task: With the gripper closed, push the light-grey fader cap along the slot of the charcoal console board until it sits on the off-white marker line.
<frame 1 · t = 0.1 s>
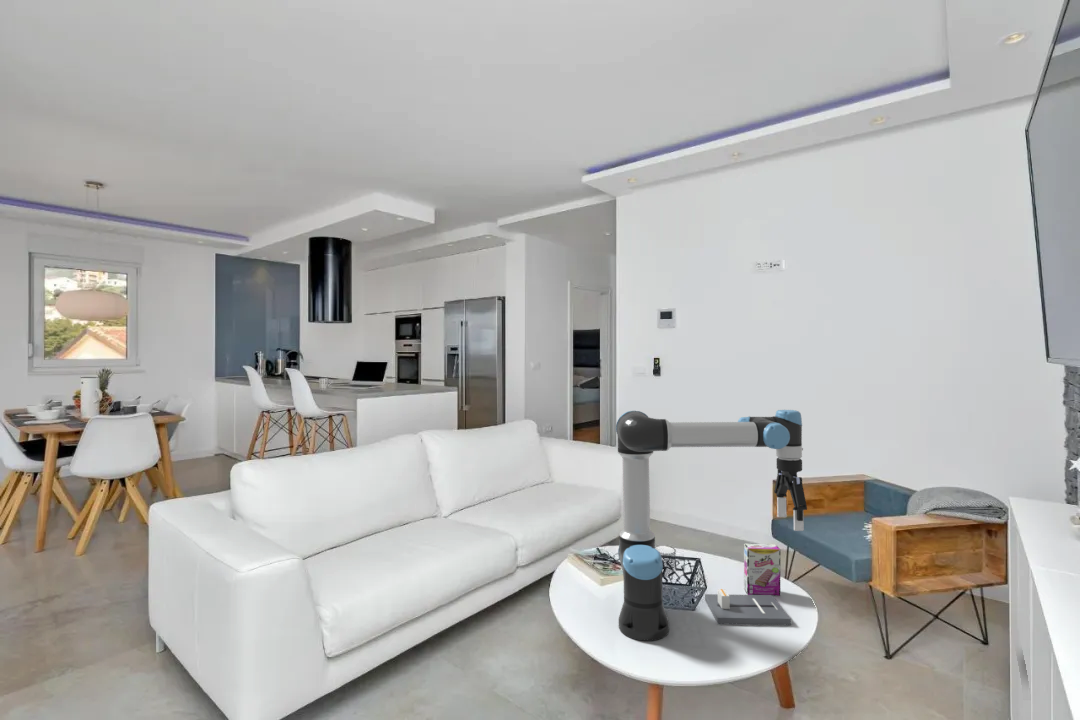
hand: (790, 523, 172), 28 cm above the table, fingers open, 13 cm apart
candy bar box: (762, 593, 184), on the table
console: (745, 612, 171), on the table
fader cap: (723, 598, 171), point 4 cm above the table, slide at 0.0 cm
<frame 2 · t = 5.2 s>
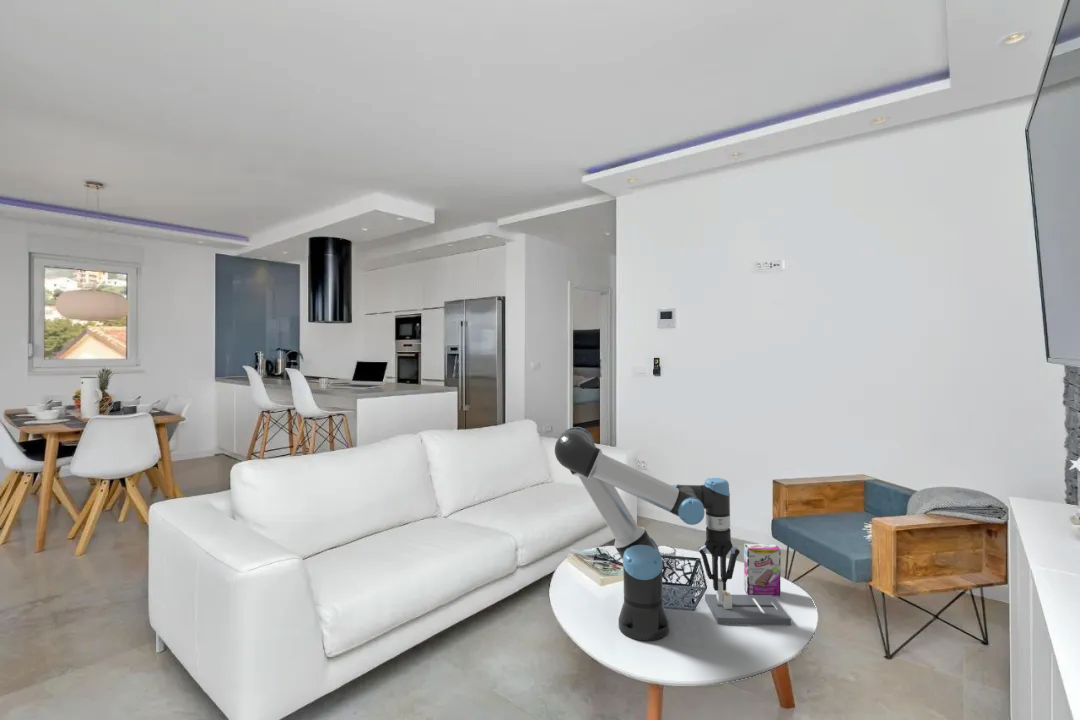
hand: (719, 599, 171), 4 cm above the table, fingers closed
fader cap: (726, 598, 171), point 4 cm above the table, slide at 0.8 cm, touching gripper
everything else where it was.
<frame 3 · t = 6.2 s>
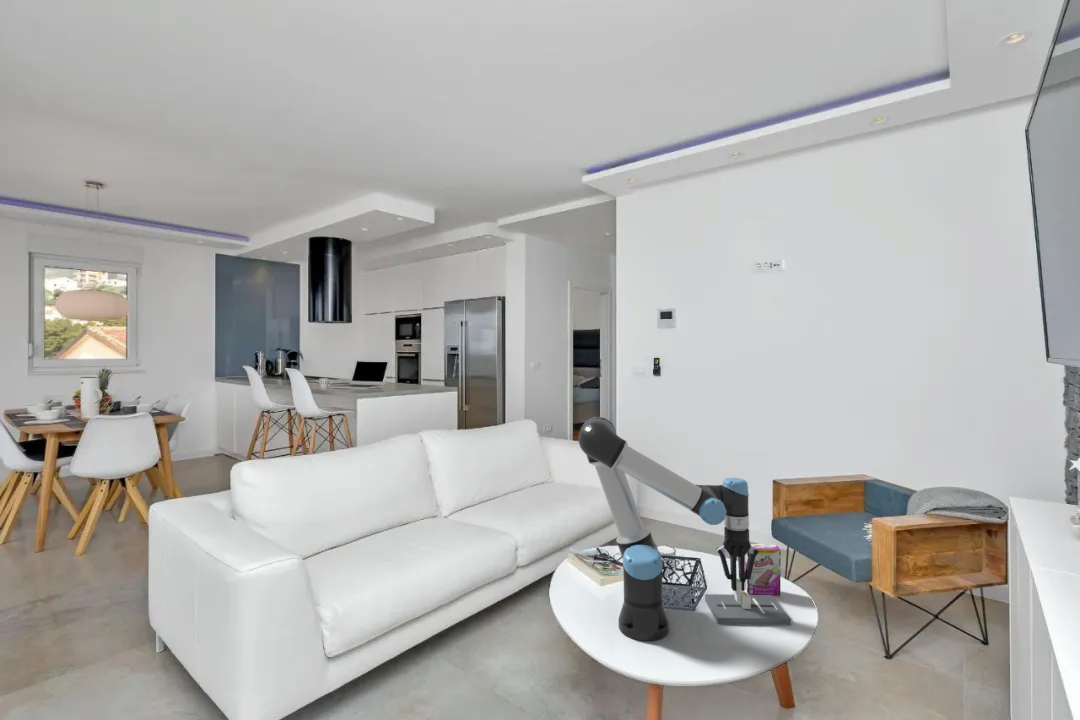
hand: (738, 600, 171), 4 cm above the table, fingers closed
fader cap: (744, 598, 171), point 4 cm above the table, slide at 6.6 cm, touching gripper
everything else where it was.
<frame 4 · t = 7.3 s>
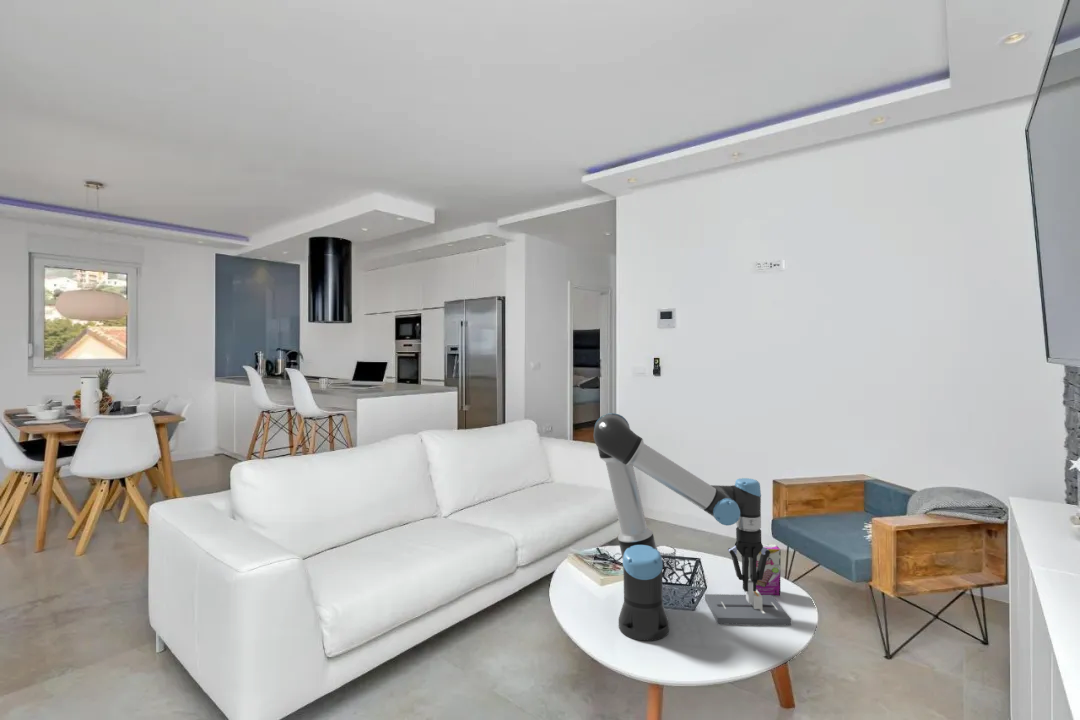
hand: (749, 600, 171), 4 cm above the table, fingers closed
fader cap: (755, 598, 170), point 4 cm above the table, slide at 10.2 cm, touching gripper
everything else where it was.
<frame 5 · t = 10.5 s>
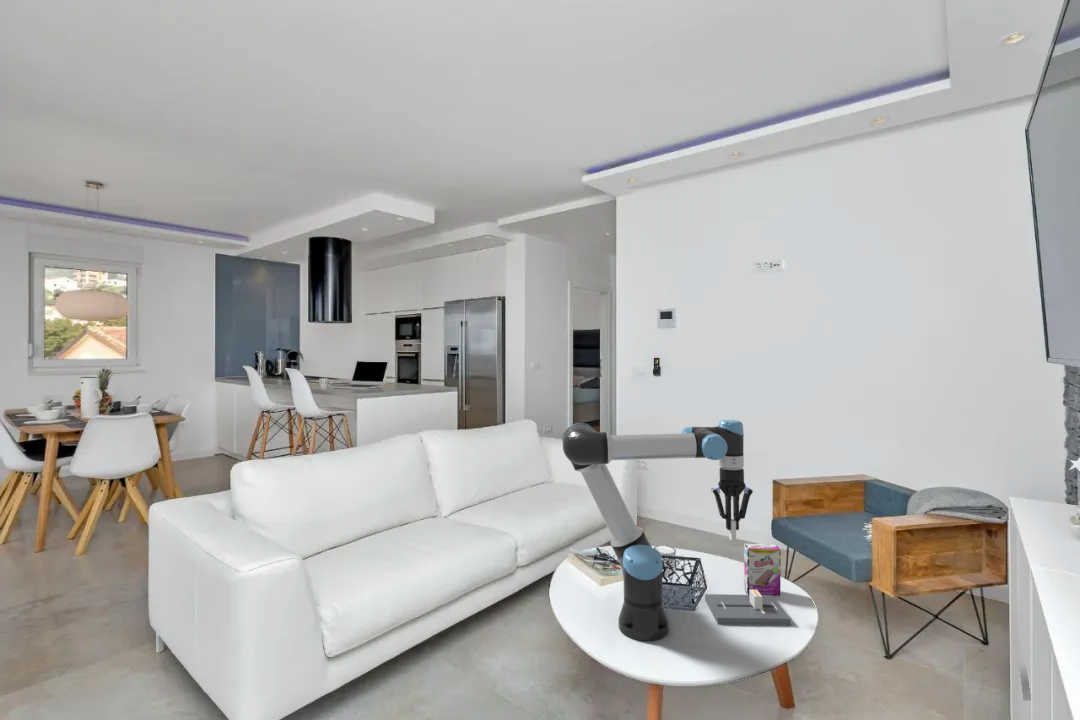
hand: (732, 539, 174), 22 cm above the table, fingers closed
fader cap: (755, 598, 170), point 4 cm above the table, slide at 10.2 cm
everything else where it was.
at the end: fader cap slide at 10.2 cm; fader cap touching nothing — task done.
